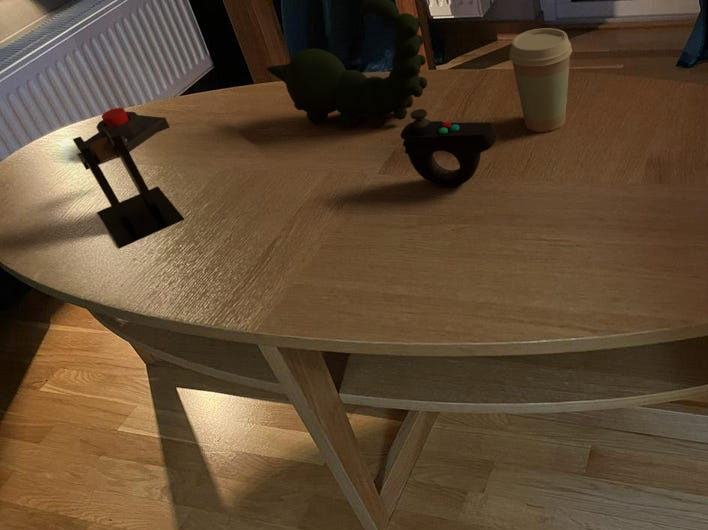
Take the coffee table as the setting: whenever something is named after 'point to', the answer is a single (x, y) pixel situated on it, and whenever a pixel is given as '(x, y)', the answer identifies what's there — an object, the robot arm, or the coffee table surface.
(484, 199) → the coffee table surface
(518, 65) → the coffee cup
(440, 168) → the controller
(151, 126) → the button block
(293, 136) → the coffee table surface
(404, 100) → the toy figurine
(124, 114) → the button
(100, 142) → the lever
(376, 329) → the coffee table surface
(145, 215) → the bracket
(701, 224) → the coffee table surface
